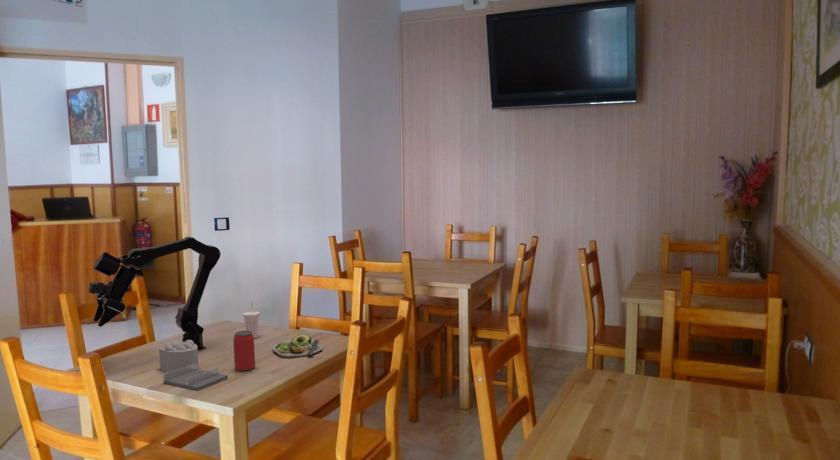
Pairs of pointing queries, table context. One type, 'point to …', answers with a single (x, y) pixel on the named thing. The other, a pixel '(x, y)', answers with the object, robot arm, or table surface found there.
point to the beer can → (244, 351)
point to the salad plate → (298, 347)
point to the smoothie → (252, 321)
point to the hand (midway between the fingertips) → (96, 323)
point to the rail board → (193, 377)
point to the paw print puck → (178, 355)
